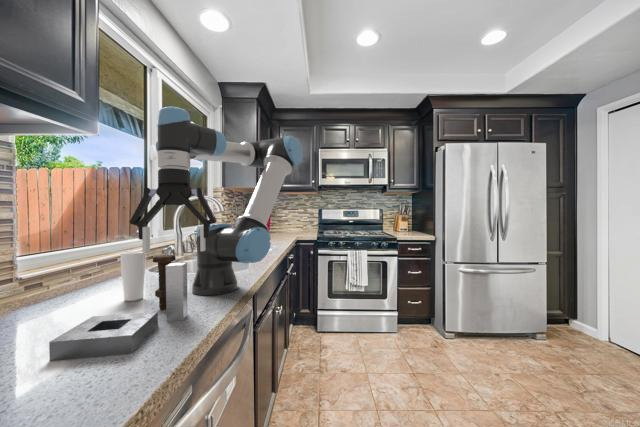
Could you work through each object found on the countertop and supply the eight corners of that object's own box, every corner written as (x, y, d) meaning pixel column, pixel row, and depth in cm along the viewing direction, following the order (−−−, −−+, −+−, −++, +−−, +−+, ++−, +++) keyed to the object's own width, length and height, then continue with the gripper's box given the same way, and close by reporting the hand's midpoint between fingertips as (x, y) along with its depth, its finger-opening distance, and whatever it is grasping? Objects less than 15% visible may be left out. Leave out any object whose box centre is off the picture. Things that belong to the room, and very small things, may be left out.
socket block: (92, 331, 69) (92, 316, 69) (158, 326, 71) (157, 311, 71) (49, 360, 55) (49, 342, 55) (132, 353, 58) (132, 335, 58)
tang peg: (171, 316, 78) (170, 263, 78) (187, 314, 79) (186, 262, 79) (166, 321, 74) (165, 265, 74) (183, 320, 75) (182, 265, 75)
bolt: (150, 309, 85) (149, 256, 85) (166, 304, 89) (165, 254, 89) (163, 311, 82) (162, 257, 82) (179, 306, 86) (178, 255, 86)
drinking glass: (125, 297, 97) (124, 251, 97) (148, 295, 99) (147, 250, 99) (118, 303, 91) (117, 254, 91) (143, 301, 93) (142, 253, 93)
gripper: (113, 166, 71) (114, 255, 71) (222, 168, 75) (223, 251, 75) (127, 171, 78) (128, 251, 78) (226, 172, 83) (227, 248, 82)
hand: (175, 251), depth 76 cm, fingers open, 13 cm apart
